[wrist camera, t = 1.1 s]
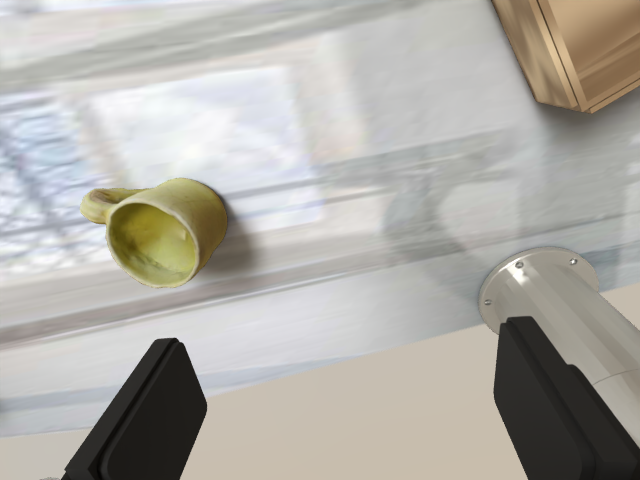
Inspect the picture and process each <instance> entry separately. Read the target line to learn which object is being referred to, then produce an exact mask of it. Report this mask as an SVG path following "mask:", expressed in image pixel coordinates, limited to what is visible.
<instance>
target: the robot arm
mask: <svg viewBox="0 0 640 480" xmlns="http://www.w3.org/2000/svg"><path fill="white" fill-rule="evenodd" d="M598 291H599V280H598V277H597V274H596V272H595V270H594V269H593V267H592V265H590V264H589V263H588V262H587V261H586V260H585V259H584V258H582V257H581V256H580V255H578V254H577V253H575V252H572V251H570V250H567V249H563V248H557V247H541V248H534V249H530V250H527V251H523V252H520V253H518V254H516V255H514V256H512V257H510V258H508V259H507V260H505V261H504V262H502V263H500V264H499V265H498V266H497V267H496V268H495V269H494V270H493V271H492V272H491V273H490V274H489V275H488V277H487V278H486V279H485V281H484V283H483V285H482V287H481V290H480V293H479V298H478V306H479V311H480V314H481V316H482V318H483V320H484V321H485V323H486V324H487V326H488V327H489V328H490V329H491V330H492V331H493V332H495V333H496V334H498V335H499V340H498V350H497V360H496V371H495V381H494V399H495V403H496V406H497V408H498V410H499V413H500V415H501V417H502V420H503V422H504V424H505V427H506V429H507V431H508V434H509V436H510V438H511V441H512V443H513V445H514V448H515V450H516V452H517V455H518V457H519V459H520V462H521V464H522V466H523V469H524V471H525V473H526V475H527V477H528V480H640V331H639V330H638V329H637V328H636V327H635V326H634V325H633V324H632V323H631V322H630V321H628V320H627V319H626V318H625V317H624V316H623V315H622V314H621V313H620V312H619V311H617V310H616V309H615V308H614V307H613V306H612V305H611V304H610V303H609V302H608V301H607V300H605V298H603V297H602V296H601V295H600V294H599V293H598ZM206 412H207V402H206V399H205V397H204V394H203V392H202V389H201V386H200V384H199V381H198V379H197V376H196V374H195V371H194V369H193V366H192V363H191V361H190V358H189V356H188V353H187V351H186V348H185V346H184V344H183V343H182V342H179V340H178V339H177V338H164V339H157V340H155V341H154V342H153V343H152V345H151V346H150V348H149V349H148V351H147V352H146V353H145V355H144V356H143V358H142V359H141V361H140V362H139V363H138V365H137V366H136V368H135V369H134V371H133V372H132V373H131V375H130V376H129V378H128V379H127V381H126V382H125V383H124V385H123V386H122V388H121V389H120V391H119V392H118V393H117V395H116V396H115V398H114V399H113V401H112V402H111V403H110V405H109V406H108V408H107V409H106V411H105V412H104V413H103V415H102V416H101V418H100V419H99V421H98V422H97V423H96V425H95V426H94V428H93V429H92V431H91V432H90V434H89V435H88V436H87V438H86V439H85V441H84V442H83V443H82V445H81V446H80V448H79V449H78V451H77V452H76V454H75V455H74V456H73V458H72V459H71V460H70V462H69V463H68V465H67V466H66V468H65V471H66V473H65V474H64V476H63V477H62V479H61V480H180V477H181V475H182V472H183V470H184V467H185V465H186V462H187V460H188V457H189V455H190V452H191V450H192V447H193V445H194V443H195V440H196V438H197V435H198V433H199V430H200V428H201V425H202V423H203V420H204V418H205V415H206ZM41 480H60V479H58V478H51V477H50V478H45V479H41Z"/></svg>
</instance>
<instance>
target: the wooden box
mask: <svg viewBox="0 0 640 480" xmlns="http://www.w3.org/2000/svg"><path fill="white" fill-rule="evenodd" d="M491 1H492V3H493V5H494V8H495V10H496V12H497V14H498V17H499V19H500V21H501V23H502V26H503V28H504V30H505V32H506V35H507V37H508V39H509V42H510V44H511V46H512V48H513V51H514V53H515V55H516V57H517V60H518V62H519V64H520V66H521V69H522V71H523V73H524V75H525V78H526V80H527V82H528V85H529V87H530V89H531V91H532V94H533V96H534V98H535V100H536V102H541V103H545V104H549V105H554V106H558V107H562V108H567V109H571V110H575V111H580V112H586V113H591V114H592V113H594V112H596V111H597V110H599V109H601V108H602V107H604V106H606V105H608V104H609V103H611V102H613V101H614V100H616V99H618V98H619V97H621V96H623V95H625V94H626V93H628V92H630V91H631V90H633V89H635V88H636V87H638V86H640V0H491Z"/></svg>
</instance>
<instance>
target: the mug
mask: <svg viewBox="0 0 640 480" xmlns="http://www.w3.org/2000/svg"><path fill="white" fill-rule="evenodd" d="M80 212H81V213H82V214H83V215H84V216H85V217H86V218H87V219H88V220H90V221H92V222H94V223H96V224H106V240H107V244H108V248H109V250H110V252H111V255H112V257H113V259H114V260H115V261H116V263H117V264H118V265H119V266H120V267H121V268H122V269H123V270H124V271H125V272H126V273H127V274H128V275H130V276H131V277H132V278H134V279H135V280H137V281H138V282H140V283H141V284H144V285H147V286H150V287H152V288H163V287H169V288H176V287H178V286H182V285H183V284H185V283H186V282H188V281H189V280H191V279H192V278H193V277H194V276H195V275H196V274H197V273H198V271H199V270H200V269H202V268H203V267H204V266H205V264H206V263H207V261H208V259H209V258H210V257H211V255H212V253H213V251H214V250H215V249H216V248H217V247H218V245H219V244H220V243H221V241H222V240H223V238H224V236H225V234H226V230H227V214H226V211H225V208H224V206H223V204H222V202H221V200H220V198H219V197H218V196H217V195H216V193H215V192H214V191H213V190H211V189H210V188H208V187H207V186H205V185H204V184H201V183H199V182H197V181H194V180H191V179H186V178H175V179H171V180H168V181H166V182H164V183H163V184H160V185H159V186H157V187H155V188H151V189H134V190H127V189H122V188H112V189H104V188H102V189H94V190H92V191H90V192H89V193H88V194H87V195H85V196H84V198H83V200H82V203H81V206H80Z"/></svg>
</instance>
